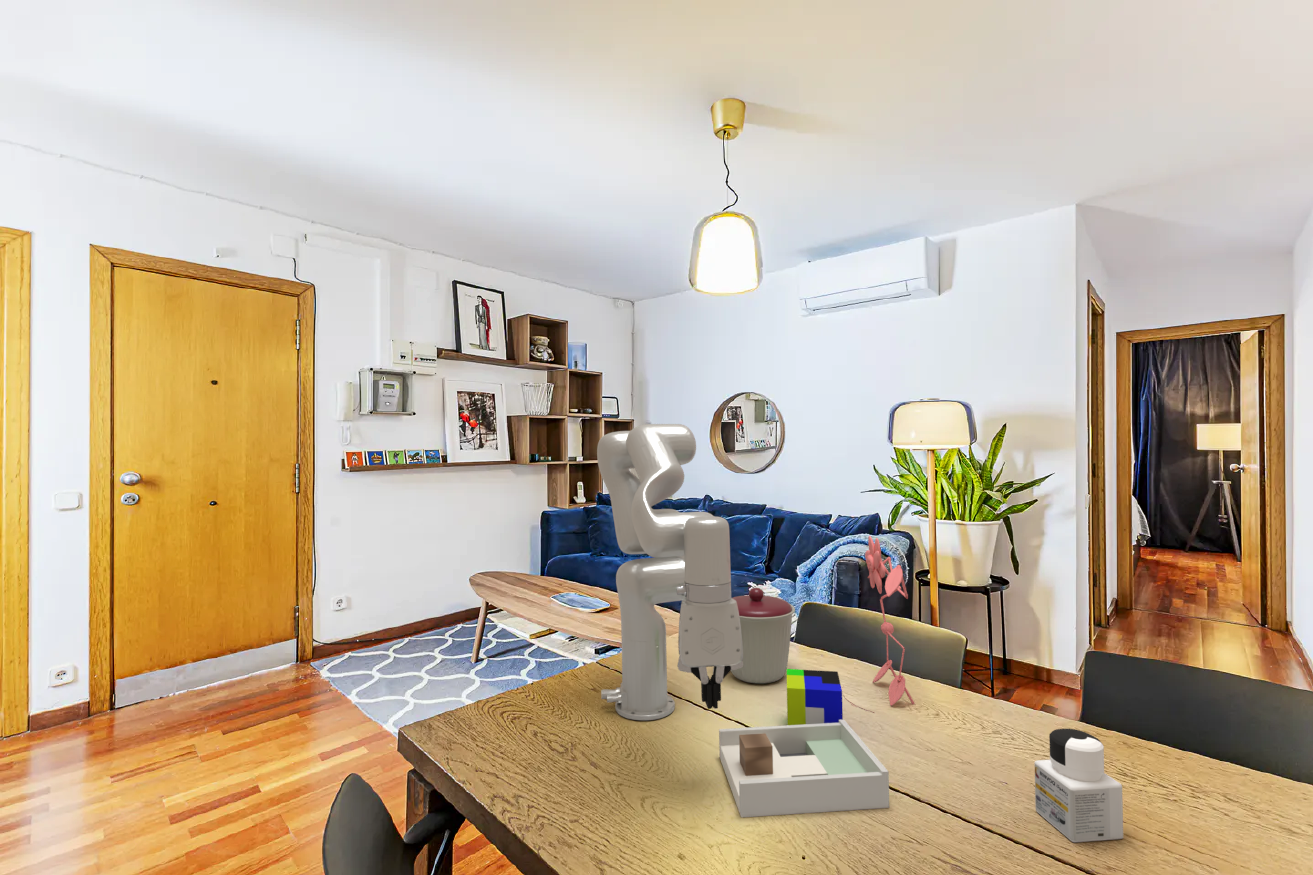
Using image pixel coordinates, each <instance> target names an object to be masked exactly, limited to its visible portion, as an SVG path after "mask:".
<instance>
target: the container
mask: <svg viewBox="0 0 1313 875" xmlns="http://www.w3.org/2000/svg"><path fill="white" fill-rule="evenodd" d="M1104 748H1105V746H1104V744H1103V743H1102V741H1101V740H1100V739H1098V738H1097V737H1096V736H1094V735H1092V734H1090V733H1088V732H1086V731H1082V730H1079V729H1074V728H1057V729H1054V730H1052V731H1051V732H1050V733H1049V759H1040V760H1035V761H1034V794H1035V795H1034V799H1035V800H1034V802H1035V804H1034V805H1035V812H1037V813H1038V814H1039V815H1040V816H1041V817H1042V818H1044V819H1045V821H1047V822H1048V823H1049V824H1051V825H1052V826H1053V827H1055V829H1057V830H1058V831H1059V833H1061V834H1062V835H1063V836H1065V837H1066V838H1067V839H1068V840H1069V841H1071V842H1072V843H1084V842H1085V843H1086V842H1098V841H1099V842H1100V841H1111V840H1121V839H1124V819H1123V818H1124V811H1123V810H1124V809H1123V806H1124V805H1123V803H1124V802H1123V785H1122V783H1121V782H1119V781H1118V780H1116V779H1114V778H1113V777H1111V776H1109V775H1108V774H1107V773H1105V756H1104V754H1105V752H1104V751H1105V750H1104Z"/></svg>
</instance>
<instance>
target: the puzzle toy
mask: <svg viewBox="0 0 1313 875" xmlns="http://www.w3.org/2000/svg"><path fill="white" fill-rule="evenodd" d="M842 693H843V688H842V686H841V682H840V676H839V672H838V671H834V670H833V671H830V670H818V669H817V670H816V669H815V670H814V669H813V670H812V669H799V668H798V669H797V668H795V669H794V668H787V669H786V709H787V710H786V712H787V713H786V714H787V720H786V721H787V725H804V724H822V723H839V720H844V718H843V717H844V716H843V715H844V714H843V711H844V710H843V694H842Z"/></svg>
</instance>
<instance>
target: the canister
mask: <svg viewBox="0 0 1313 875" xmlns="http://www.w3.org/2000/svg"><path fill="white" fill-rule="evenodd" d="M764 594H765V592H764V590H763V589H762V588H760V587H752V588H750V589H749V591H748V595H738V596H734V597H731V598H732V599H734V600H736V602H737V606H738V611H739V617H740V625H741V634H742V646H743V659H742V662H743V667H742V668H739V669H736V670H731V671H730V672H731V674H732V675H733V676H734V677H735V678H736V679H738V680H739V681H743V682H745V683H750V684H758V685H759V684H771V683H774V682H777V681H780V680H781V679H782V678H783V677H784V676H785V674H786V673H787V669H788V664H789V663H788V662H789V653H790V646H791V645H790V644H791V633H792V625H793V624H792V623H793V622H792V621H793V615H794V614H795V612H796V608H795V606H794V605H793V604H791V603H789V602H788V601H786V600H785V599H782V598H780V597H777V596H776V597H775V596H770V595H764Z"/></svg>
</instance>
